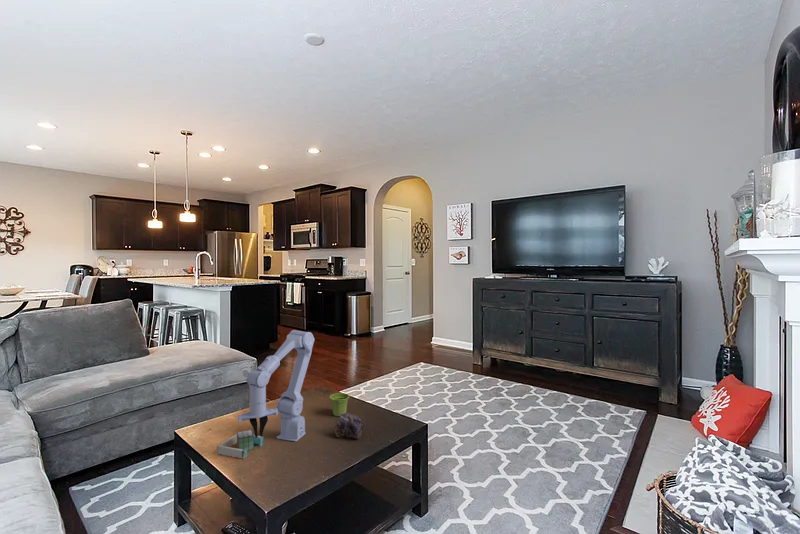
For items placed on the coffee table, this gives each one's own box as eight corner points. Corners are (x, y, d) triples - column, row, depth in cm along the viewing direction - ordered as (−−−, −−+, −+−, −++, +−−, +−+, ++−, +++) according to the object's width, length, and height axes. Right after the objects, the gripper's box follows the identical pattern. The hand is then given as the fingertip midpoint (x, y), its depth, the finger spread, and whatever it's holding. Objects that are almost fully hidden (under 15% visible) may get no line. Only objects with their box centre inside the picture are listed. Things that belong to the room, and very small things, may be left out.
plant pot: (327, 412, 192) (327, 394, 192) (346, 409, 196) (346, 391, 196) (332, 419, 184) (332, 401, 183) (351, 416, 188) (352, 398, 187)
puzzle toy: (253, 449, 156) (253, 435, 155) (238, 452, 153) (238, 438, 153) (251, 443, 161) (251, 429, 160) (236, 446, 158) (236, 432, 158)
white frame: (263, 444, 160) (263, 436, 160) (243, 458, 148) (243, 451, 148) (238, 439, 163) (238, 432, 163) (217, 453, 152) (217, 446, 152)
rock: (355, 445, 162) (365, 434, 171) (358, 425, 161) (368, 415, 170) (330, 436, 166) (342, 426, 175) (333, 417, 165) (344, 407, 174)
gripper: (275, 394, 160) (275, 427, 160) (236, 401, 153) (237, 435, 153) (279, 400, 153) (279, 435, 154) (238, 407, 147) (239, 443, 147)
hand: (258, 436), depth 153 cm, fingers closed
